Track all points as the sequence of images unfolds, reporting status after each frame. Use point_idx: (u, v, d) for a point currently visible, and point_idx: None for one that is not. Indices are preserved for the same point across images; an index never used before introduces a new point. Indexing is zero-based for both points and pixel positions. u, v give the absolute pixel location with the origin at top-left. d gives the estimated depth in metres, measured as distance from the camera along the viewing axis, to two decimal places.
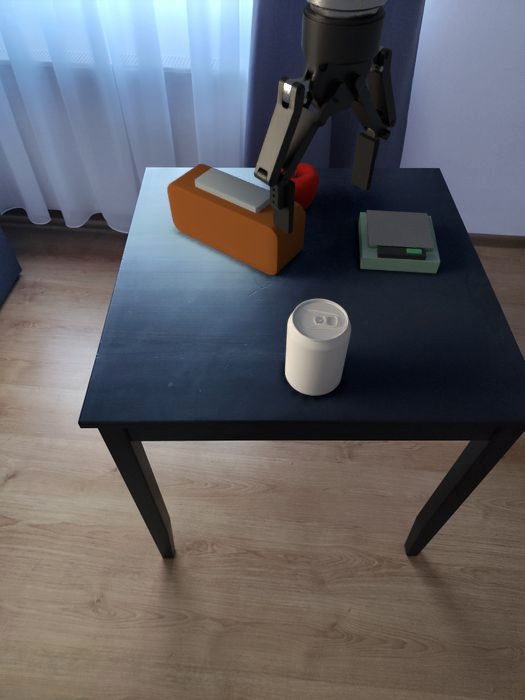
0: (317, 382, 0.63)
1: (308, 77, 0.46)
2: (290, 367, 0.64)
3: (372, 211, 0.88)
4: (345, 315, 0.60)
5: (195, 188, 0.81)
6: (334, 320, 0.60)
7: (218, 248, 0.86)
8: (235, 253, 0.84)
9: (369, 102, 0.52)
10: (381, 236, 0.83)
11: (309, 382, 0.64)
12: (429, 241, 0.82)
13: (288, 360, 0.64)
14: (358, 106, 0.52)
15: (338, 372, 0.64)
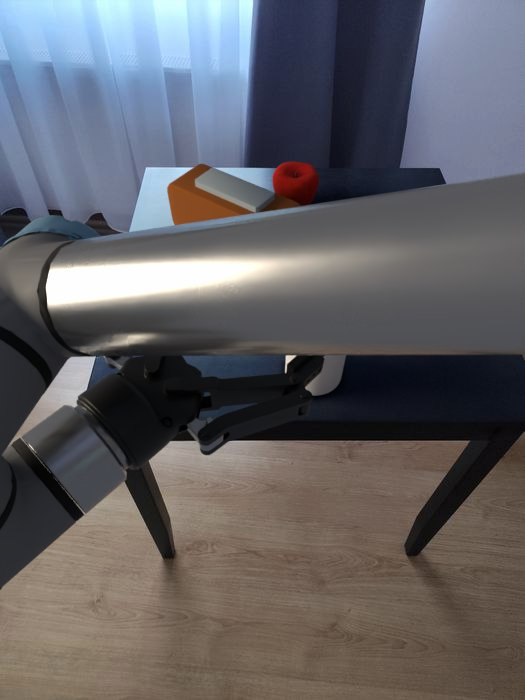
0: (317, 382, 0.63)
1: (185, 426, 0.38)
2: None
3: None
4: None
5: (195, 188, 0.81)
6: None
7: None
8: None
9: None
10: None
11: None
12: None
13: (288, 360, 0.64)
14: None
15: (338, 372, 0.64)
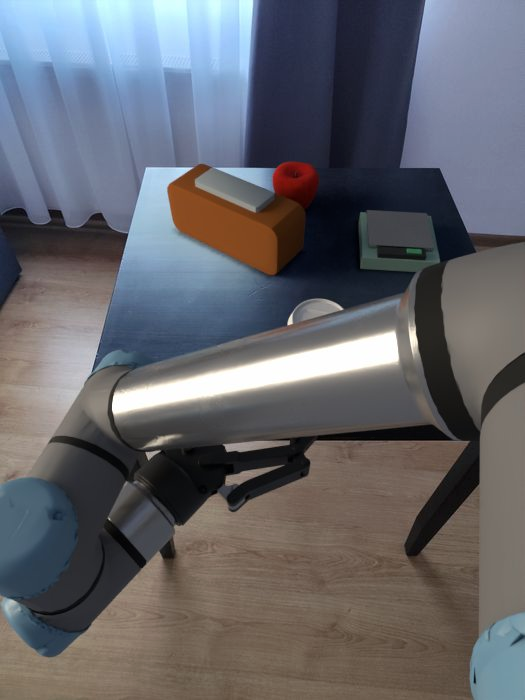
0: None
1: (216, 491, 0.51)
2: None
3: (372, 211, 0.88)
4: None
5: (195, 188, 0.81)
6: None
7: (218, 248, 0.86)
8: (235, 253, 0.84)
9: None
10: (381, 236, 0.83)
11: None
12: (429, 241, 0.82)
13: None
14: None
15: None
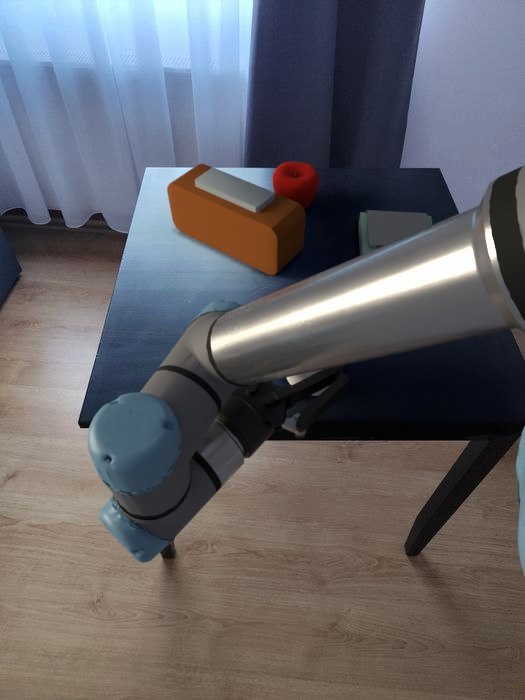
0: None
1: (281, 426, 0.56)
2: None
3: (372, 211, 0.88)
4: None
5: (195, 188, 0.81)
6: None
7: (218, 248, 0.86)
8: (235, 253, 0.84)
9: None
10: (381, 236, 0.83)
11: None
12: None
13: None
14: None
15: None
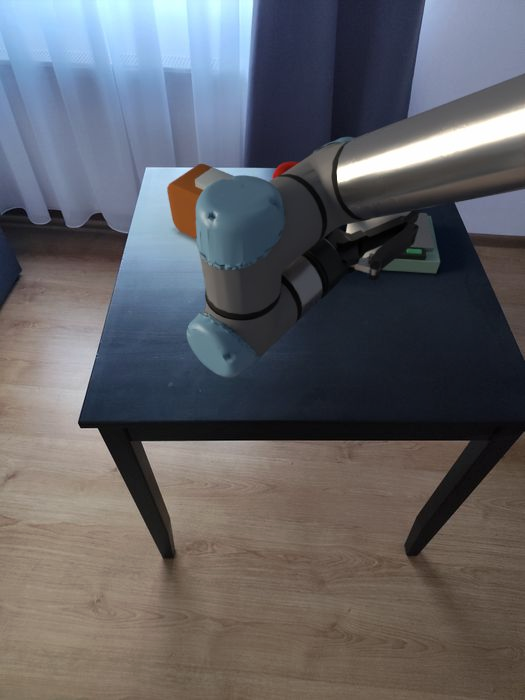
0: None
1: (355, 267, 0.57)
2: (354, 228, 0.65)
3: None
4: None
5: (195, 188, 0.81)
6: None
7: None
8: None
9: None
10: None
11: None
12: (429, 241, 0.82)
13: None
14: None
15: None
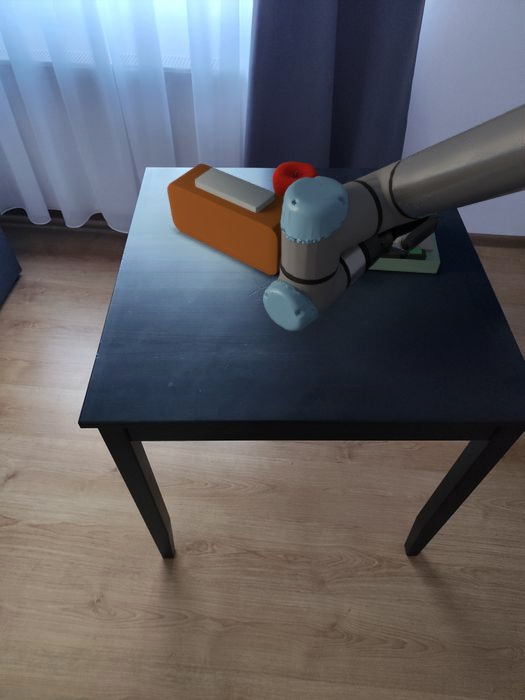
0: None
1: (389, 248, 0.72)
2: None
3: None
4: None
5: (195, 188, 0.81)
6: None
7: (218, 248, 0.86)
8: (235, 253, 0.84)
9: None
10: None
11: None
12: (429, 242, 0.82)
13: None
14: None
15: None
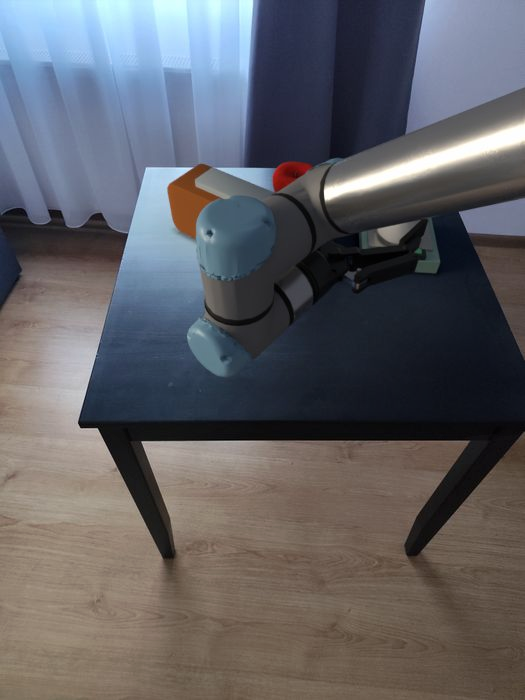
0: (409, 229, 0.79)
1: (341, 277, 0.61)
2: None
3: None
4: None
5: (195, 188, 0.81)
6: None
7: None
8: None
9: None
10: (381, 237, 0.83)
11: (402, 230, 0.79)
12: (429, 242, 0.82)
13: None
14: None
15: None
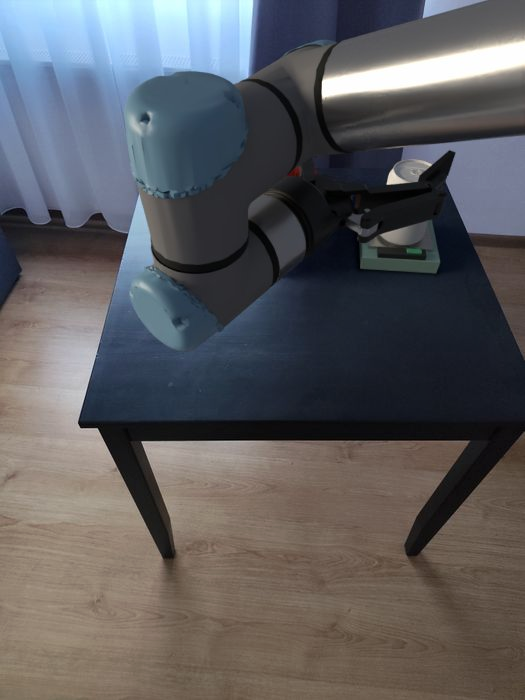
0: (409, 229, 0.79)
1: (344, 221, 0.46)
2: None
3: None
4: None
5: None
6: None
7: None
8: None
9: None
10: (381, 237, 0.83)
11: (402, 230, 0.79)
12: (429, 242, 0.82)
13: None
14: None
15: (426, 222, 0.79)
